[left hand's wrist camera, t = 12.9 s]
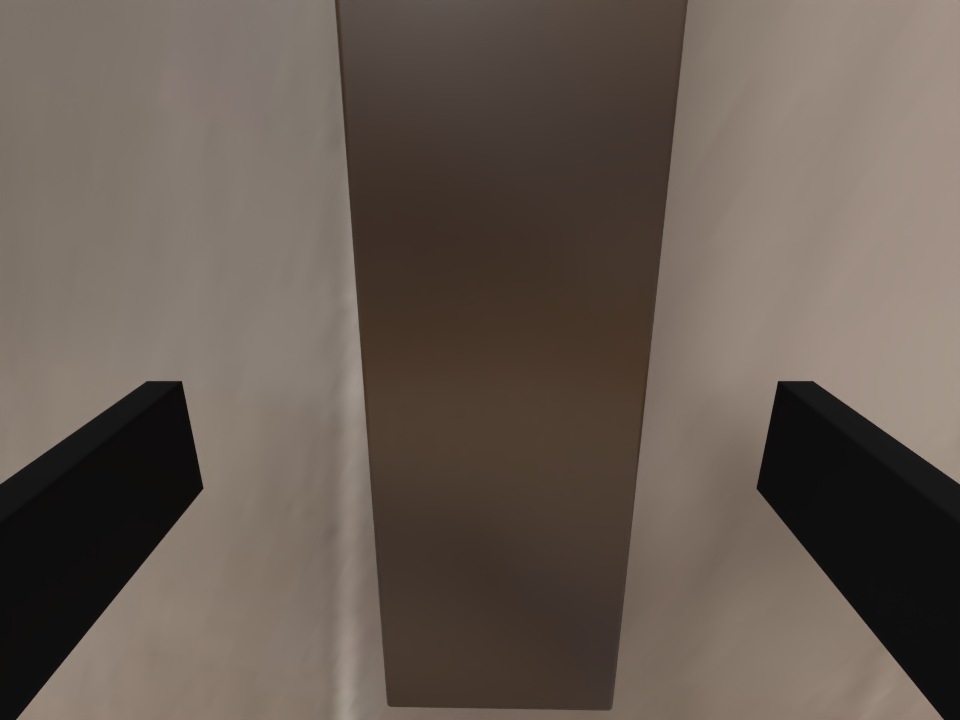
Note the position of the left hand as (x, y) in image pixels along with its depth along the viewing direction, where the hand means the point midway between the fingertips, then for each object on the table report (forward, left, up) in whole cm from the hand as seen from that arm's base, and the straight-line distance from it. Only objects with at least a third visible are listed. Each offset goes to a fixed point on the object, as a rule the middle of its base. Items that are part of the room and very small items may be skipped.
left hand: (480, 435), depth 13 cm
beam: (+19, +8, -6) cm, 22 cm away
